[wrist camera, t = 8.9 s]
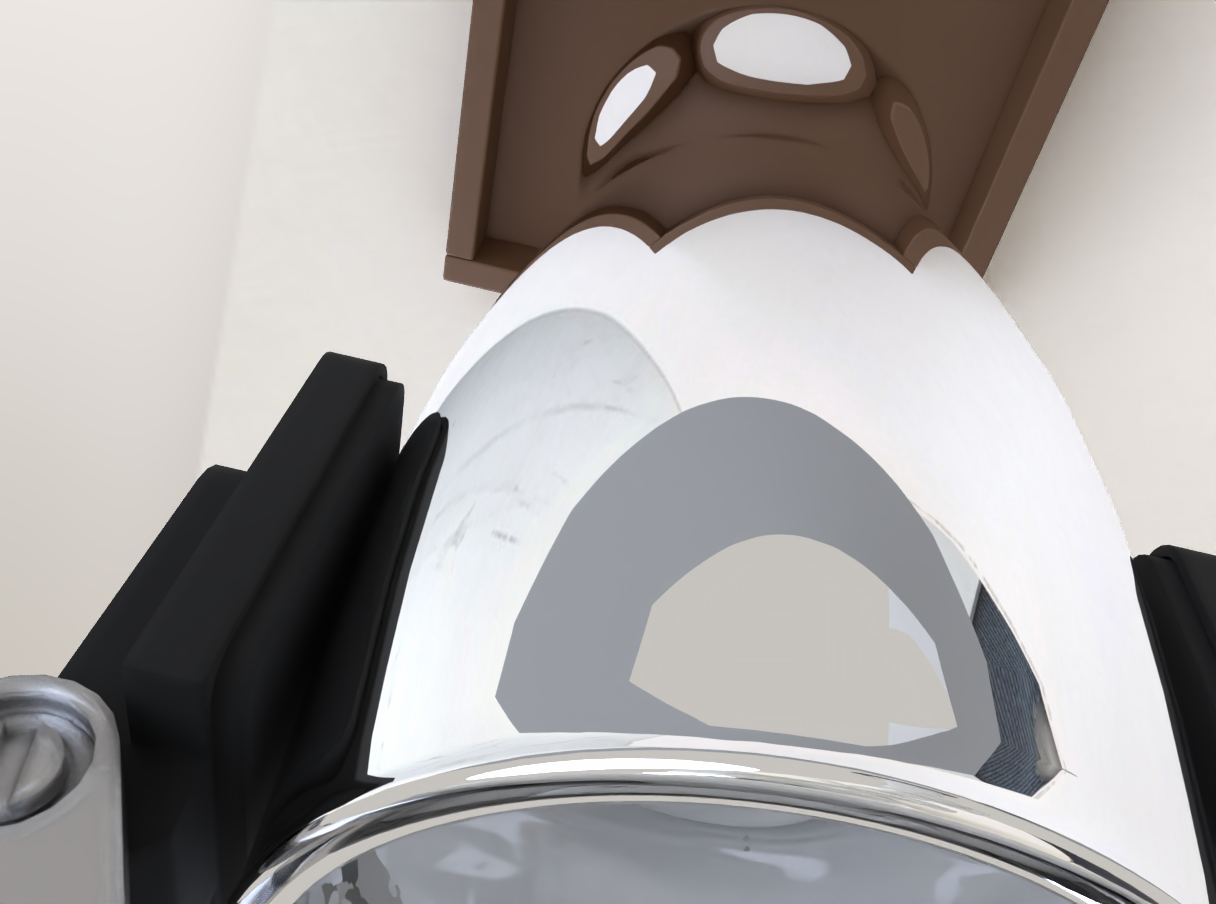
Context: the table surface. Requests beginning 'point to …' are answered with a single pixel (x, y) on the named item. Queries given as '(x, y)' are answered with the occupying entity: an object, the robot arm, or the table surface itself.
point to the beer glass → (742, 552)
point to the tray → (648, 3)
